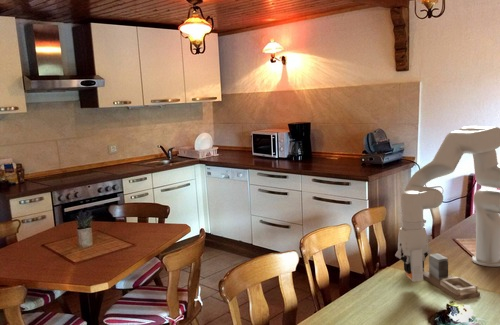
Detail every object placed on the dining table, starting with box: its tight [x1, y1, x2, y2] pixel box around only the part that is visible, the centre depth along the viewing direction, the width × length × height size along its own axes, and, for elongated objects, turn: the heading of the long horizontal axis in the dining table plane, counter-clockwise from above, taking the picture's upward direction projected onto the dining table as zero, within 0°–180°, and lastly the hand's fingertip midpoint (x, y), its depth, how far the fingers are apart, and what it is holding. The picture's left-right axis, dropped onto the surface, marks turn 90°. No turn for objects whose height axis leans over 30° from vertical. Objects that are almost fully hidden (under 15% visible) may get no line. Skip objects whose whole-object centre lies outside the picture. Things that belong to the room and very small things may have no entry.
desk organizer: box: [423, 253, 481, 301], centre depth 166 cm, size 9×23×10 cm, turn 12°
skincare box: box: [405, 249, 424, 283], centre depth 164 cm, size 6×4×12 cm
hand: (414, 270), depth 165 cm, fingers closed on skincare box, 4 cm apart
